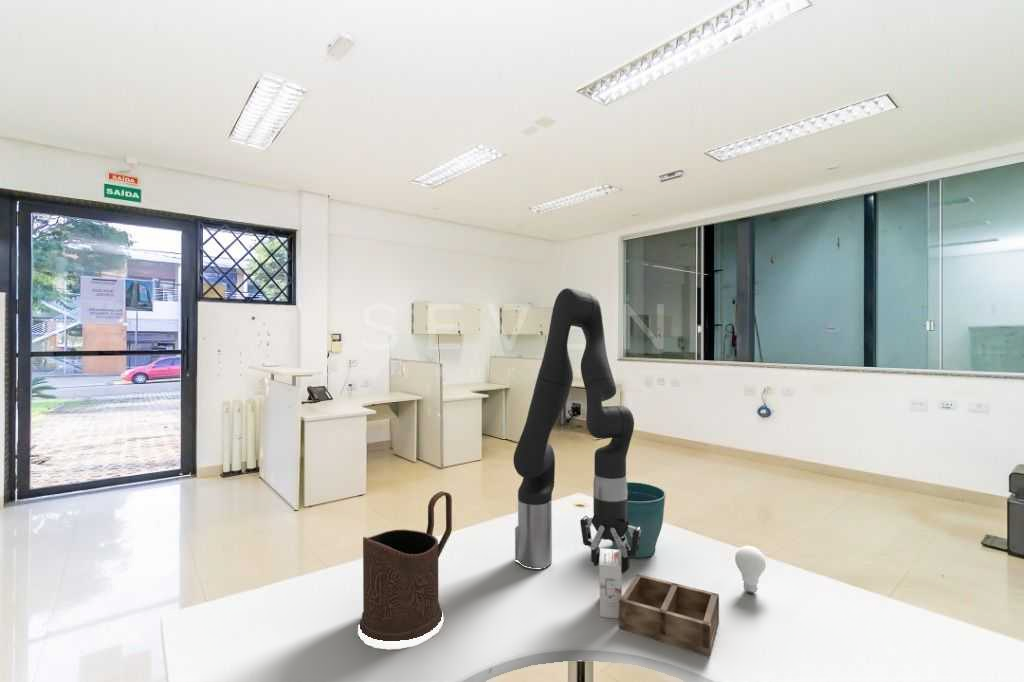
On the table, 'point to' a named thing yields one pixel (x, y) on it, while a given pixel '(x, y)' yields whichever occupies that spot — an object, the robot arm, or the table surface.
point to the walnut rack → (670, 613)
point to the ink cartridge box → (610, 582)
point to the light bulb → (750, 566)
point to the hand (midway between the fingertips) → (610, 567)
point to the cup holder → (403, 580)
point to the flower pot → (644, 515)
